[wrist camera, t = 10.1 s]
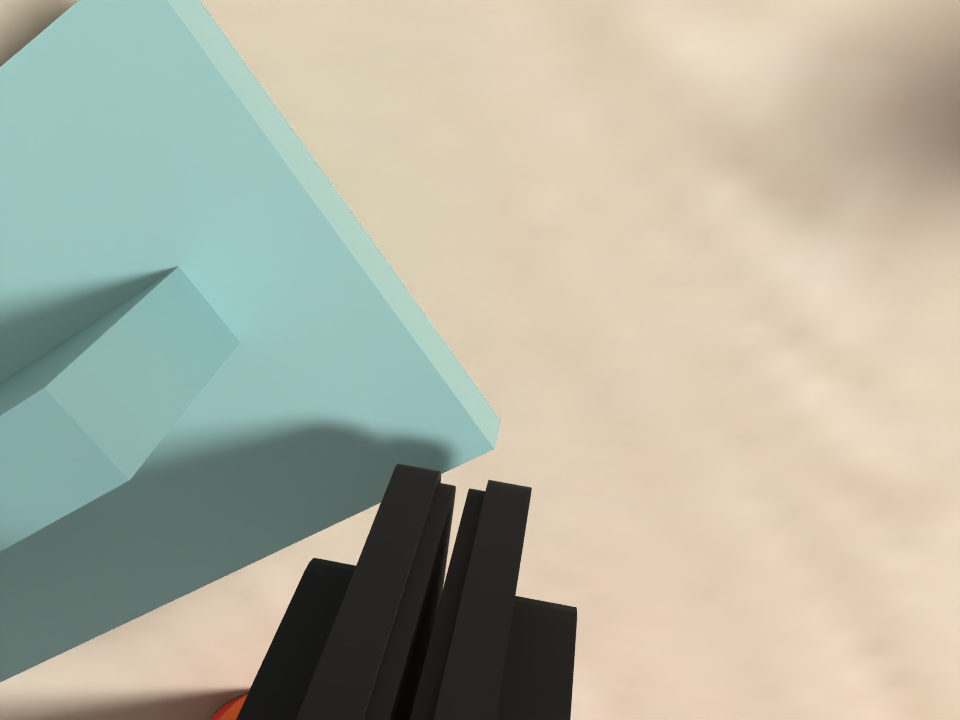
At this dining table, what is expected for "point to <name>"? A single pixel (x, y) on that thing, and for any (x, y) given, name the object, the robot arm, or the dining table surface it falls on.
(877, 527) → the dining table surface
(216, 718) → the paper cup
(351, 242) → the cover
